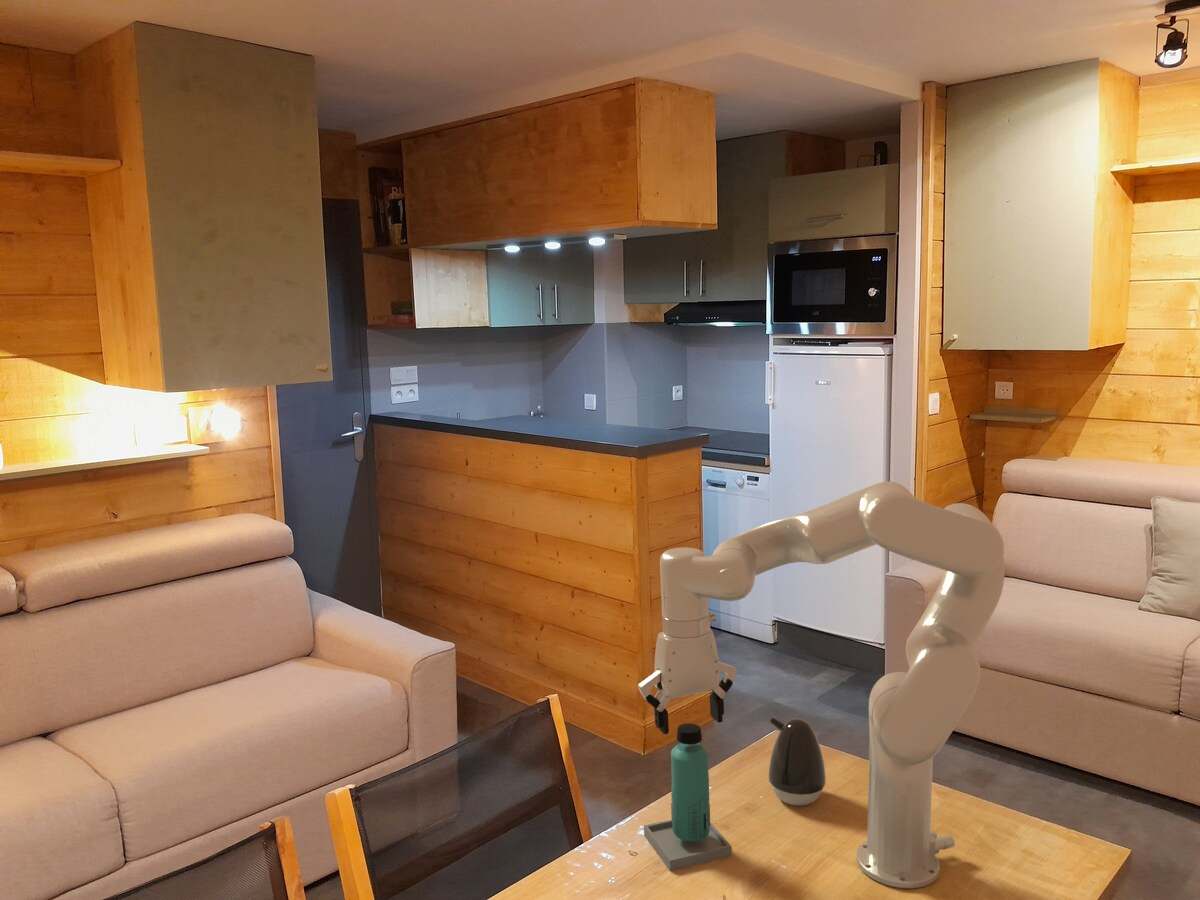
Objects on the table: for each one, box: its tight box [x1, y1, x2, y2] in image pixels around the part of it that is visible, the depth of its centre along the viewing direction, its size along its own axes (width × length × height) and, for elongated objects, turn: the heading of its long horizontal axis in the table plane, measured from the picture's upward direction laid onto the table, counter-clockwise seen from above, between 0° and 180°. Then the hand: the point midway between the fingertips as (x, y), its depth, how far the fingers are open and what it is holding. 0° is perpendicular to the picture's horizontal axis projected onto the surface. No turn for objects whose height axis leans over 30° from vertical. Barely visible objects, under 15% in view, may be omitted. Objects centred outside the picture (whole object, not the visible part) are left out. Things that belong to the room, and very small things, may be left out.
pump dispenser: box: [768, 717, 827, 807], centre depth 169 cm, size 10×10×15 cm
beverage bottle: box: [670, 722, 711, 841], centre depth 154 cm, size 6×7×20 cm
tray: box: [643, 818, 732, 872], centre depth 155 cm, size 11×11×2 cm
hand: (690, 725), depth 152 cm, fingers open, 9 cm apart
